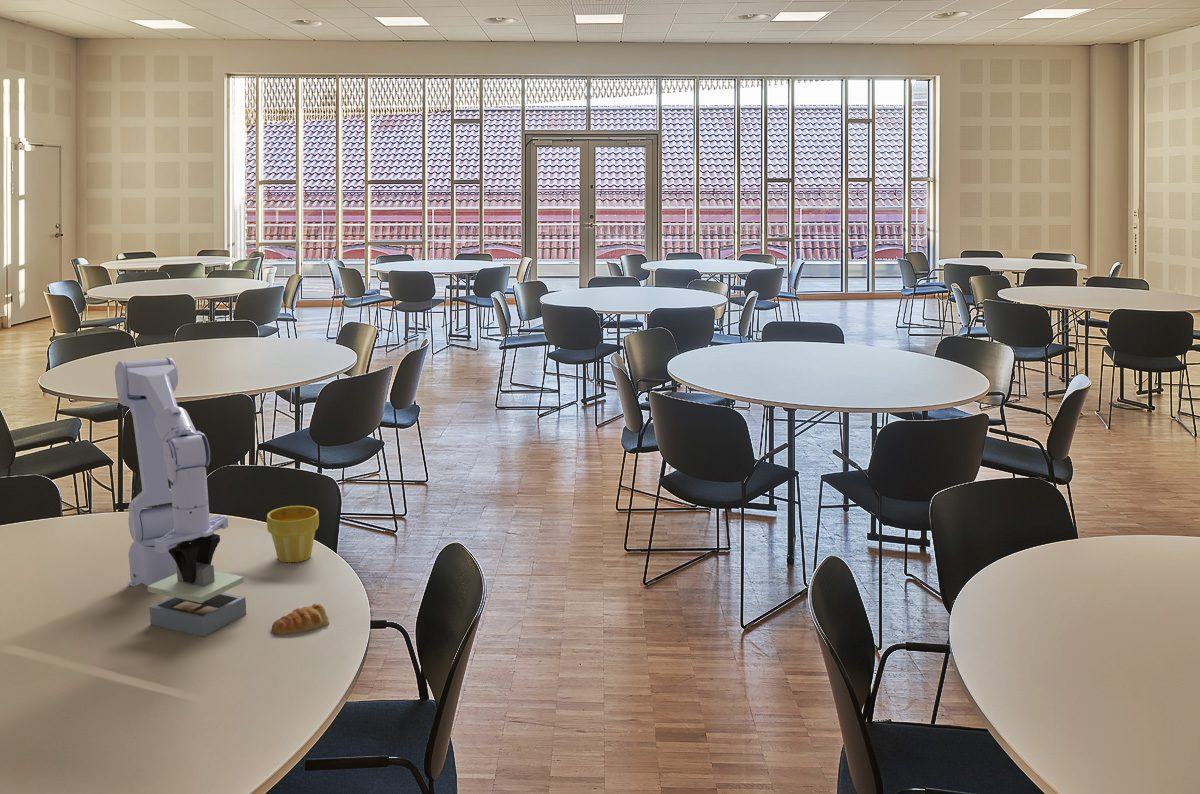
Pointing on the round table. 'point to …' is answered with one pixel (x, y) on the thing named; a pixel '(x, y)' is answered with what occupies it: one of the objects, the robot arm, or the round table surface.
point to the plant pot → (293, 531)
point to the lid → (196, 584)
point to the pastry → (301, 620)
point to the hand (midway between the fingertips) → (196, 578)
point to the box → (195, 624)
